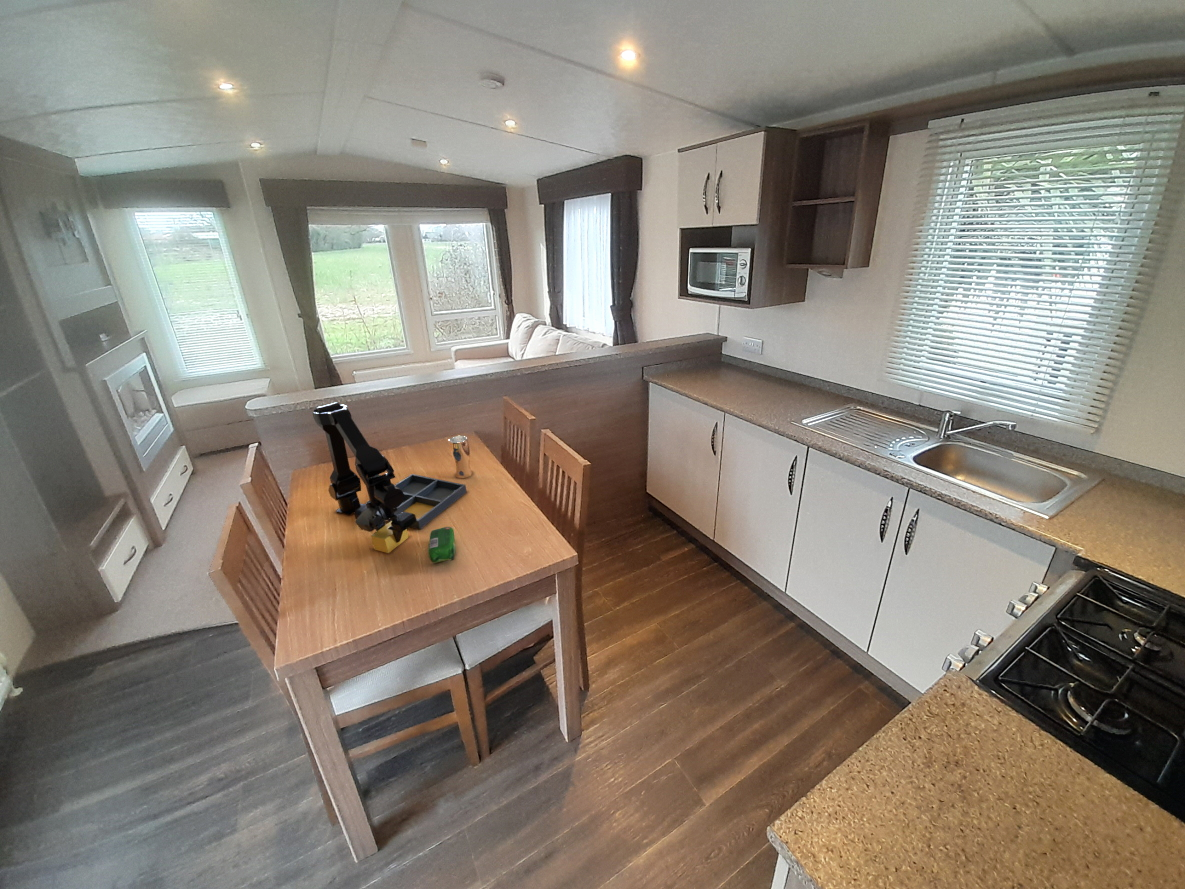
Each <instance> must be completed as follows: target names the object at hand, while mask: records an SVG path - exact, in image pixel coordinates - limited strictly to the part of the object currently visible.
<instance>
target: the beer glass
mask: <svg viewBox="0 0 1185 889" xmlns="http://www.w3.org/2000/svg"><path fill="white" fill-rule="evenodd" d="M448 441H449V442H448V443H449V451H450V455H451V458H452V461H453V463H454V467H455V477H456V478H458V479H466V478H470V477H471V476H472V475H473V471H472V468H471V465H470V464H471V463H470V462H471V461H470V459H471V450H470V445H469V440H468V437H467V436H466V435H455V436H452V437H450V438H449V439H448Z"/></svg>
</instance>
